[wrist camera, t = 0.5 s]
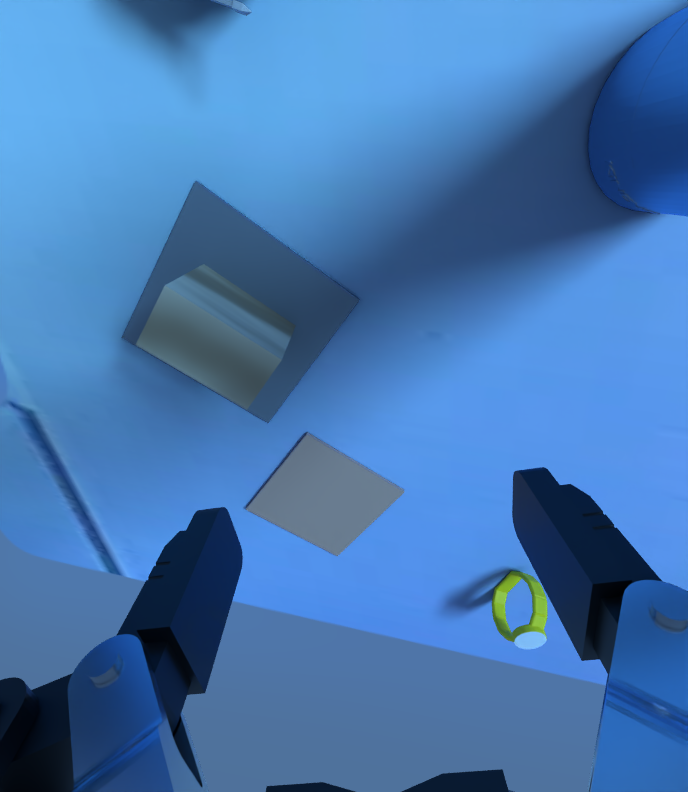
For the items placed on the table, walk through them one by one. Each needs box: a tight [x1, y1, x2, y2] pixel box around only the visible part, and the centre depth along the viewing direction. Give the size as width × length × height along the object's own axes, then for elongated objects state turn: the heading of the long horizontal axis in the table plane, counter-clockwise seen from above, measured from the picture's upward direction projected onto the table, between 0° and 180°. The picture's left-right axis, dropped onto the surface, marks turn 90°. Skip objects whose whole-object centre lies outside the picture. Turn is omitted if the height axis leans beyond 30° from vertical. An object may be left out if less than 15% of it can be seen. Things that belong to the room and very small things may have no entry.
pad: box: [246, 432, 404, 556], centre depth 35 cm, size 10×10×1 cm
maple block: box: [136, 264, 295, 410], centre depth 25 cm, size 4×7×6 cm, turn 54°
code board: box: [122, 181, 359, 423], centre depth 27 cm, size 12×12×1 cm
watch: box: [492, 571, 548, 649], centre depth 37 cm, size 6×3×6 cm, turn 157°
